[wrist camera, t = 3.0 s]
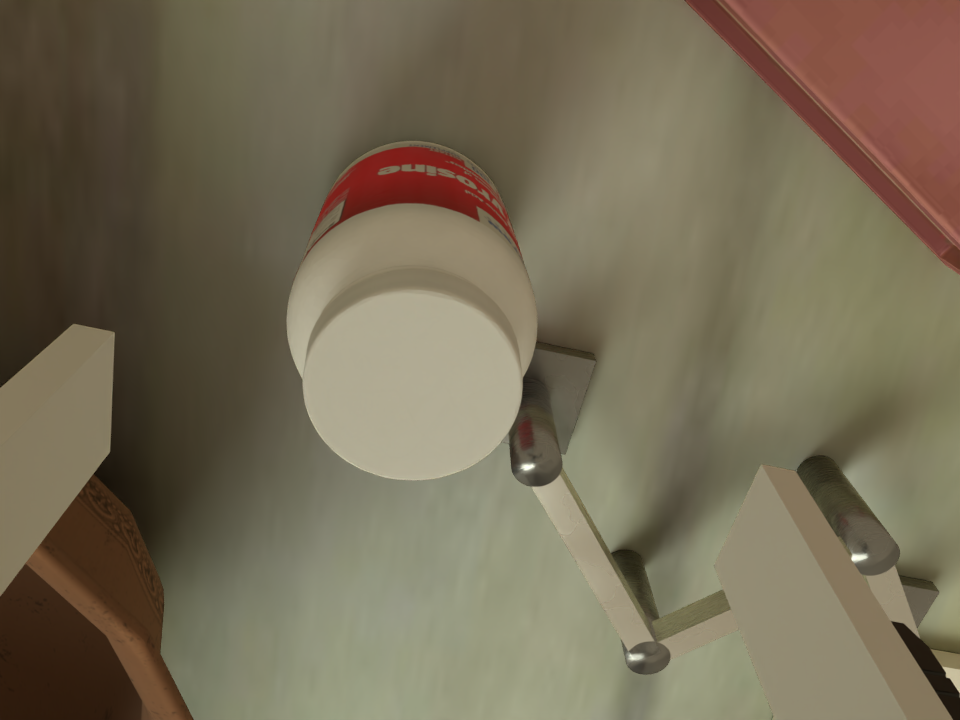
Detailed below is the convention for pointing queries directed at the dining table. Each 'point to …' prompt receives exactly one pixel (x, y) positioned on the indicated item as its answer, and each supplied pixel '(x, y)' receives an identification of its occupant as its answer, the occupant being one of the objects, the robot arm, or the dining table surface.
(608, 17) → the dining table surface
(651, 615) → the jointed bar linkage
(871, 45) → the book
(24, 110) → the dining table surface
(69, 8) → the dining table surface
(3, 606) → the bowl
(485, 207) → the pill bottle
